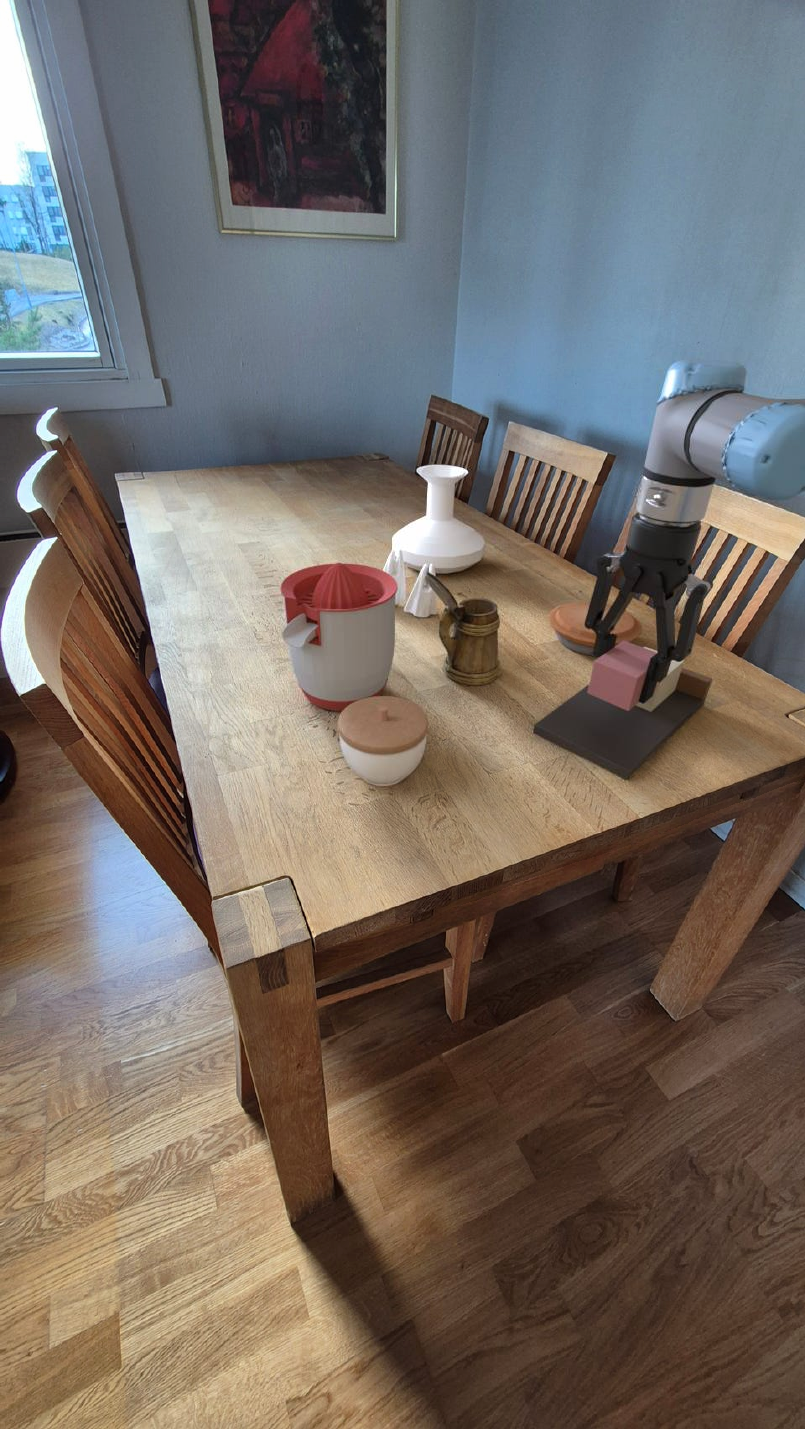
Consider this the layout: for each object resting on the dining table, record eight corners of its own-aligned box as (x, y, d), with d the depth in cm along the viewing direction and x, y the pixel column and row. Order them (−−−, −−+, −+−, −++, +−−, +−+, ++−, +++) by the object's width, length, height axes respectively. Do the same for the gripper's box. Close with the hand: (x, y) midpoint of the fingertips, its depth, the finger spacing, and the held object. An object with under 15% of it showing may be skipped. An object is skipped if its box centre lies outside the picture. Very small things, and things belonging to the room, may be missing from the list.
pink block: (656, 687, 85) (665, 655, 82) (628, 711, 80) (637, 678, 77) (615, 671, 88) (623, 640, 85) (586, 693, 83) (594, 660, 80)
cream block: (675, 690, 92) (684, 661, 90) (650, 712, 88) (660, 681, 85) (637, 675, 96) (645, 646, 93) (611, 695, 91) (619, 665, 88)
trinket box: (442, 779, 77) (447, 717, 72) (367, 811, 72) (366, 747, 67) (396, 735, 84) (397, 675, 79) (325, 761, 80) (321, 700, 74)
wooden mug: (407, 670, 98) (410, 561, 88) (479, 652, 104) (490, 547, 94) (436, 698, 92) (443, 584, 82) (511, 677, 97) (526, 567, 87)
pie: (642, 668, 101) (650, 640, 98) (544, 657, 103) (549, 629, 100) (632, 625, 113) (639, 600, 110) (546, 616, 115) (550, 591, 113)
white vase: (458, 589, 125) (465, 490, 114) (373, 568, 133) (373, 474, 122) (497, 558, 139) (508, 468, 128) (419, 541, 147) (422, 455, 136)
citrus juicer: (259, 700, 91) (241, 569, 79) (339, 654, 102) (334, 534, 91) (339, 741, 83) (333, 602, 72) (416, 687, 95) (421, 560, 83)
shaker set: (371, 606, 118) (371, 549, 111) (383, 598, 121) (383, 542, 114) (428, 621, 113) (430, 562, 107) (438, 612, 116) (441, 555, 110)
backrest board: (703, 704, 92) (712, 678, 90) (627, 780, 78) (635, 752, 75) (616, 670, 100) (622, 645, 97) (532, 733, 85) (537, 706, 83)
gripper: (576, 505, 74) (546, 673, 87) (741, 546, 63) (678, 730, 76) (607, 493, 78) (574, 654, 91) (766, 529, 68) (703, 706, 81)
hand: (622, 688), depth 84 cm, fingers closed on pink block, 6 cm apart
